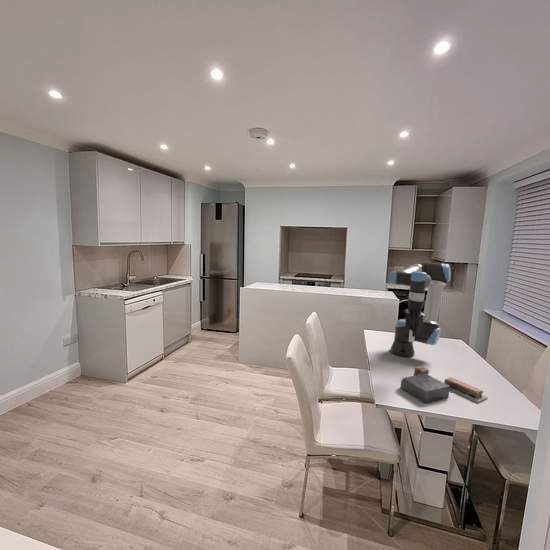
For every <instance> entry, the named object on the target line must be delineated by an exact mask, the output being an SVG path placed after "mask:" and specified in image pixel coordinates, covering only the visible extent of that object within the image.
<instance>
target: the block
mask: <svg viewBox="0 0 550 550" xmlns="http://www.w3.org/2000/svg"><path fill="white" fill-rule="evenodd" d="M421 374H427V375H429V369H428V368H426V367H424V366H423V365H422V366H420V365H419V366H415V367H414V372H413V376H416V375H421Z"/></svg>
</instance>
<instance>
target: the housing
mask: <svg viewBox="0 0 550 550" xmlns="http://www.w3.org/2000/svg"><path fill="white" fill-rule="evenodd" d="M402 379H403V380H402ZM402 379H401V380H402V388H401V390H402V391H404V392H405V393H407V394H409V395H411V397H414V398H415V399H417V400H418V401H420V402H422V404H423V403H424V404H428V403H432V402H435V401H436V402H437V401H441V400H443V399H447V398H448V399H449V397H450V386H449V385H447V384H445V383H444V382H443V381H442V380H441V381H440V380H438V379H437V378H435V377H432V376H431V375H429V374H428V375H427V374H421V375H416V376H414V375H412V376H406V377H402Z"/></svg>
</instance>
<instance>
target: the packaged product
mask: <svg viewBox="0 0 550 550" xmlns="http://www.w3.org/2000/svg"><path fill="white" fill-rule="evenodd" d="M443 383H445V384H447V385H449V386H450V390H449V392H453V393H454V394H456V395H459V396H460V397H463V398H465V399H467V400H470V401H471V402H474V403H476V404H479V403H482V402H484V401H486V400H488V398H489V396H486V395H484V394H483V393H484V391H483V390H482V389H479V388H477V387H474V386H473V385H471V384H468V383H466V382H464V381H461V380H458V379H456V378H454V377H448V378H445V379H444V382H443Z"/></svg>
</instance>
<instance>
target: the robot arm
mask: <svg viewBox="0 0 550 550" xmlns="http://www.w3.org/2000/svg"><path fill="white" fill-rule="evenodd" d="M451 276H452V272H451V267H450V264H448V263H442V262H429V261H421V262H415V263H412V264H411V265H409V266H408V267H406V268H405V269H402V270H400V271H394V270H393V271H390V272H389V275H388V282H389V284H392V285H398V286H400V285H401V286H406V287H407V286H408V287H409V292H408V293H409V294H408V302H407V306H408V307H407V309H404V310H403V312H404V318H402V319H401V318H400V319H398V320H397V321H396V322H395V329H394V338H393V339H394V340H393V342H392V344H391V346H390V350H389V351H390V353H392V354H394V355H396V356H399V357H402V358H403V357H404V358H412V357H414V356H415V349H414V342H416V343H421V344H425V345H430V346H435V345H437V344H438V342H439V340H440V336H441V333H442V329H441V328H440V324H439V323H438V317H439V312H440V307H441V301H442V298H443V296H442V295H443V291H444V288H445V287H446V286H447V283H450V281H451ZM427 287H428V289H427V293H426V288H427ZM425 293H426V294H425ZM425 295H426V297H425ZM425 298H426V299H425ZM424 300H425V302H424ZM424 303H425V304H424ZM423 309H424V310H423Z"/></svg>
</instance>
